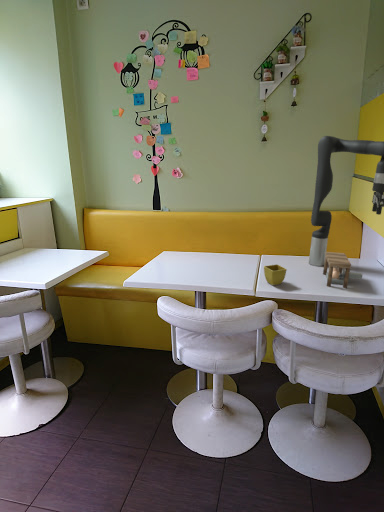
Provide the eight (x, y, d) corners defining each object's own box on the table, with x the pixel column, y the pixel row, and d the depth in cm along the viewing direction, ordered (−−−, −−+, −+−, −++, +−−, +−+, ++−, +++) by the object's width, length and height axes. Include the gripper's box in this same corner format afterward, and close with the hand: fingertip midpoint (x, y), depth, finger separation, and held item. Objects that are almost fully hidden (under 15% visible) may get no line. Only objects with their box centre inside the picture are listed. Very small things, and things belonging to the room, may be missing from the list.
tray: (325, 276, 192) (327, 266, 191) (358, 279, 189) (360, 269, 187) (328, 283, 183) (329, 272, 181) (362, 286, 179) (364, 275, 178)
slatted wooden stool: (322, 273, 197) (325, 251, 193) (341, 275, 195) (344, 253, 191) (326, 286, 179) (330, 262, 175) (347, 288, 177) (351, 264, 173)
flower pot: (262, 281, 185) (263, 265, 182) (276, 279, 188) (277, 264, 185) (271, 287, 177) (272, 271, 174) (285, 285, 180) (287, 269, 177)
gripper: (370, 180, 185) (365, 210, 190) (377, 183, 172) (371, 215, 177) (385, 181, 184) (380, 211, 189) (393, 183, 170) (387, 215, 175)
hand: (376, 212), depth 183 cm, fingers open, 8 cm apart
